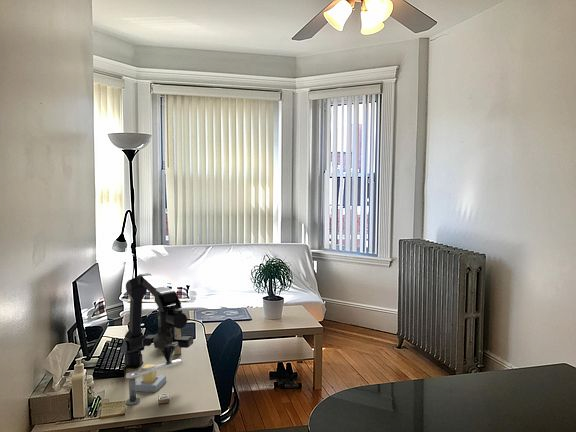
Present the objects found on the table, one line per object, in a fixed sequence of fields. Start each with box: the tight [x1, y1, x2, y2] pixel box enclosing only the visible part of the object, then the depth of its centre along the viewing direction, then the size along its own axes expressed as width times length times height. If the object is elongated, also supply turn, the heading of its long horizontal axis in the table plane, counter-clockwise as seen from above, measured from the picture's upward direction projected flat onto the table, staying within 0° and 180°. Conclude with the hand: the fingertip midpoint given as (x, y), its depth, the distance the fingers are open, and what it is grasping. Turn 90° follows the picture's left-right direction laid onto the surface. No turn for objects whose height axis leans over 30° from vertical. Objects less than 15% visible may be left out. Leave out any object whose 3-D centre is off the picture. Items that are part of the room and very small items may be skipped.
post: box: [125, 378, 141, 406], centre depth 178 cm, size 5×5×9 cm
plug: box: [141, 363, 157, 383], centre depth 192 cm, size 4×4×8 cm
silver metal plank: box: [125, 358, 183, 380], centre depth 183 cm, size 22×4×1 cm, turn 132°
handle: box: [173, 328, 182, 355], centre depth 227 cm, size 5×6×15 cm
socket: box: [135, 375, 167, 393], centre depth 192 cm, size 9×9×2 cm
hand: (168, 362), depth 189 cm, fingers closed
